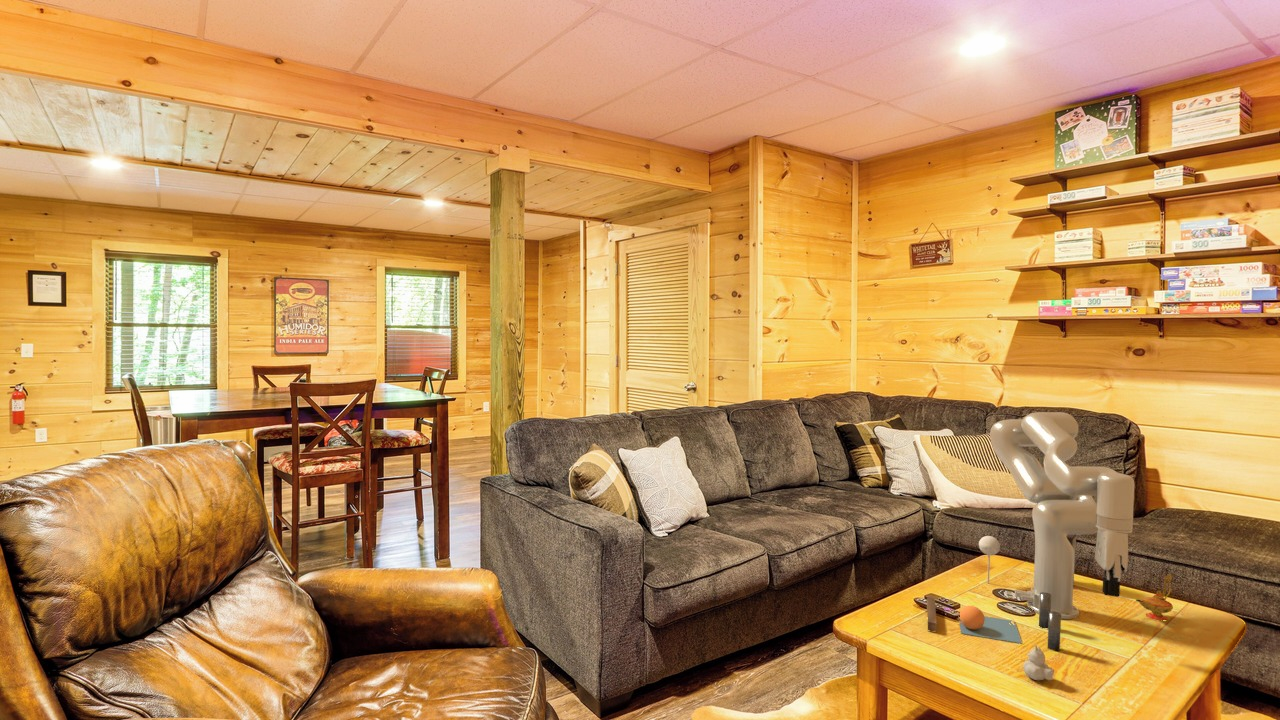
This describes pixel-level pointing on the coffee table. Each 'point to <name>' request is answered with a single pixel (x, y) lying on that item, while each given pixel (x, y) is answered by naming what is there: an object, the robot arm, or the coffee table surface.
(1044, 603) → the post
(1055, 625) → the post
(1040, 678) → the grey lumpy figure
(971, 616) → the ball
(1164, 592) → the magic lamp
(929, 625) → the wall
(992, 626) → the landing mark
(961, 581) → the coffee table surface
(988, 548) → the lollipop
